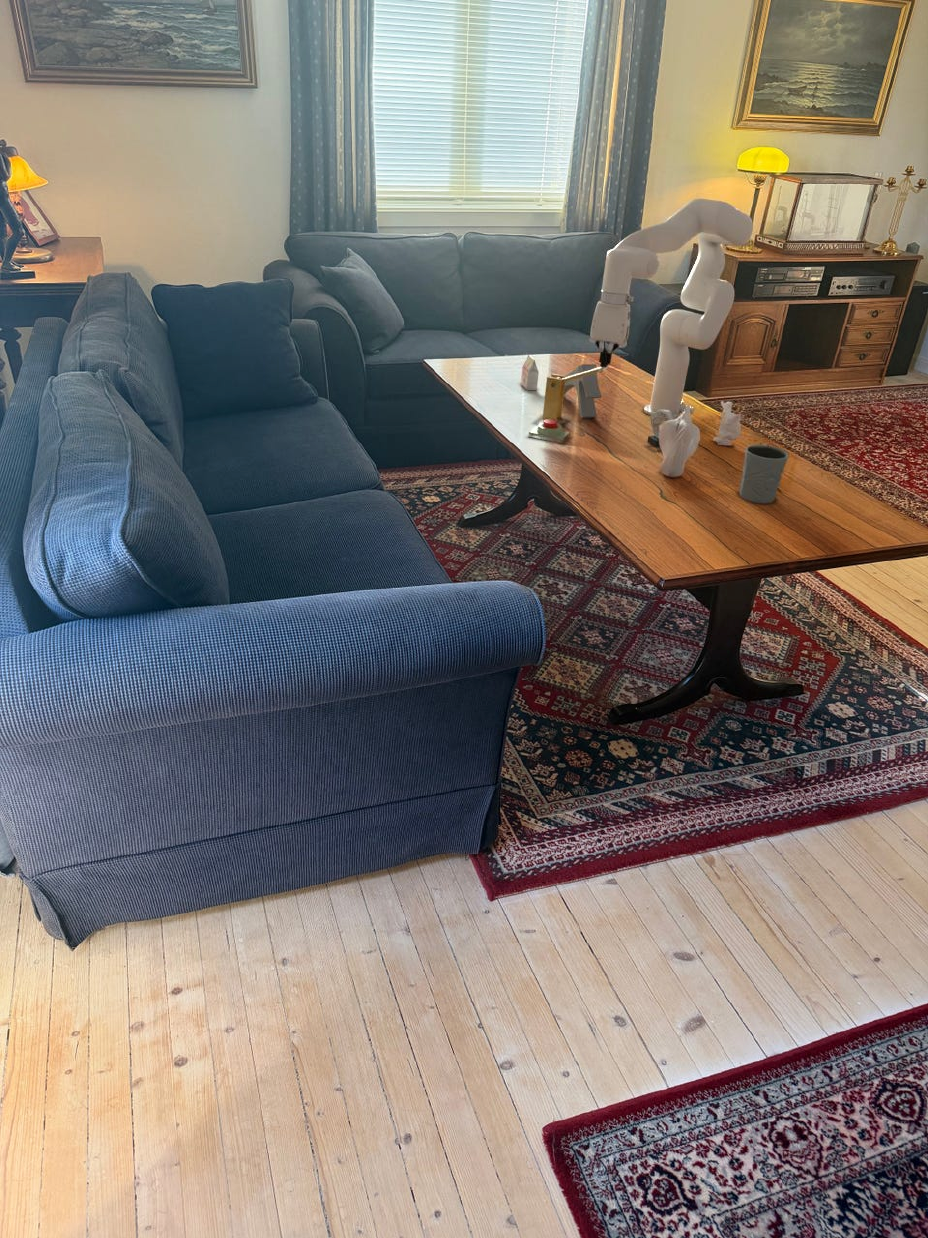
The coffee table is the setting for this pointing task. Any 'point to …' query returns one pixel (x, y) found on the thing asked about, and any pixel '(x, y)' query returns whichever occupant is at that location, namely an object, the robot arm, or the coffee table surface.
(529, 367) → the milk carton
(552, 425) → the stop button
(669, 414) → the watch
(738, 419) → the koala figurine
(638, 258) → the robot arm
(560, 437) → the button box
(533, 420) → the coffee table surface
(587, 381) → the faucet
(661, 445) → the shell sculpture
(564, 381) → the tap lever
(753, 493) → the grey cup
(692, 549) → the coffee table surface
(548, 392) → the bracket
